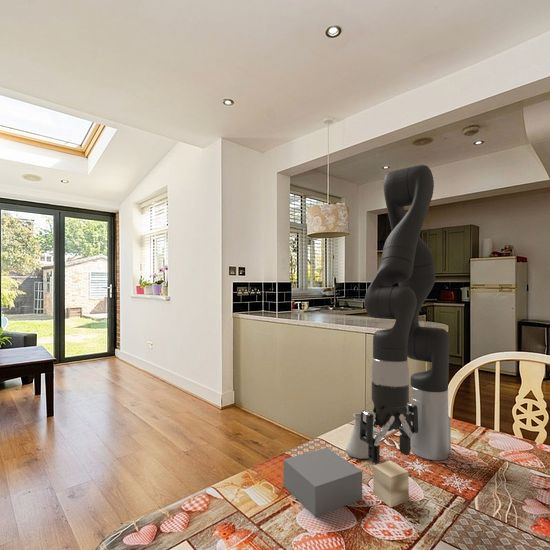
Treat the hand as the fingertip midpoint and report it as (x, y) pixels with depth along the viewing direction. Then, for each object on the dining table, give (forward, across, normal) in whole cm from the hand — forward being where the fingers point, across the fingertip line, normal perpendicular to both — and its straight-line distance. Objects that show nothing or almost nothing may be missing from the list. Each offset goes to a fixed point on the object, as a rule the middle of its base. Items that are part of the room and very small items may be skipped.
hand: (389, 458), depth 73 cm
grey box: (+9, +12, -8) cm, 17 cm away
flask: (+8, -7, -18) cm, 21 cm away
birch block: (+8, 0, 0) cm, 8 cm away
